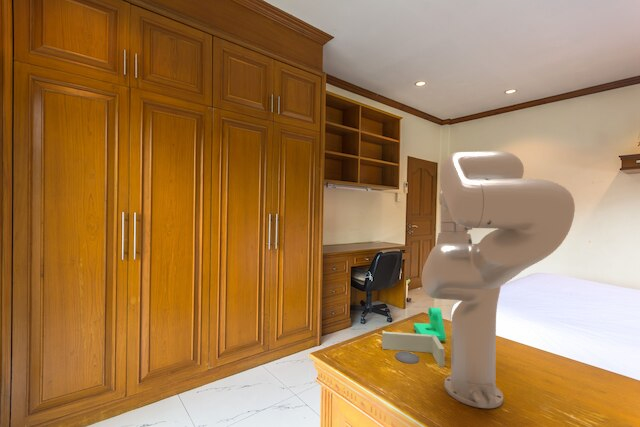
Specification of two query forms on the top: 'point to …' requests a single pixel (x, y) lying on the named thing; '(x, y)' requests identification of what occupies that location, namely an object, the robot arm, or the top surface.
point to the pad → (407, 357)
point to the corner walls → (414, 344)
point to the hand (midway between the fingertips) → (453, 287)
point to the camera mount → (432, 325)
